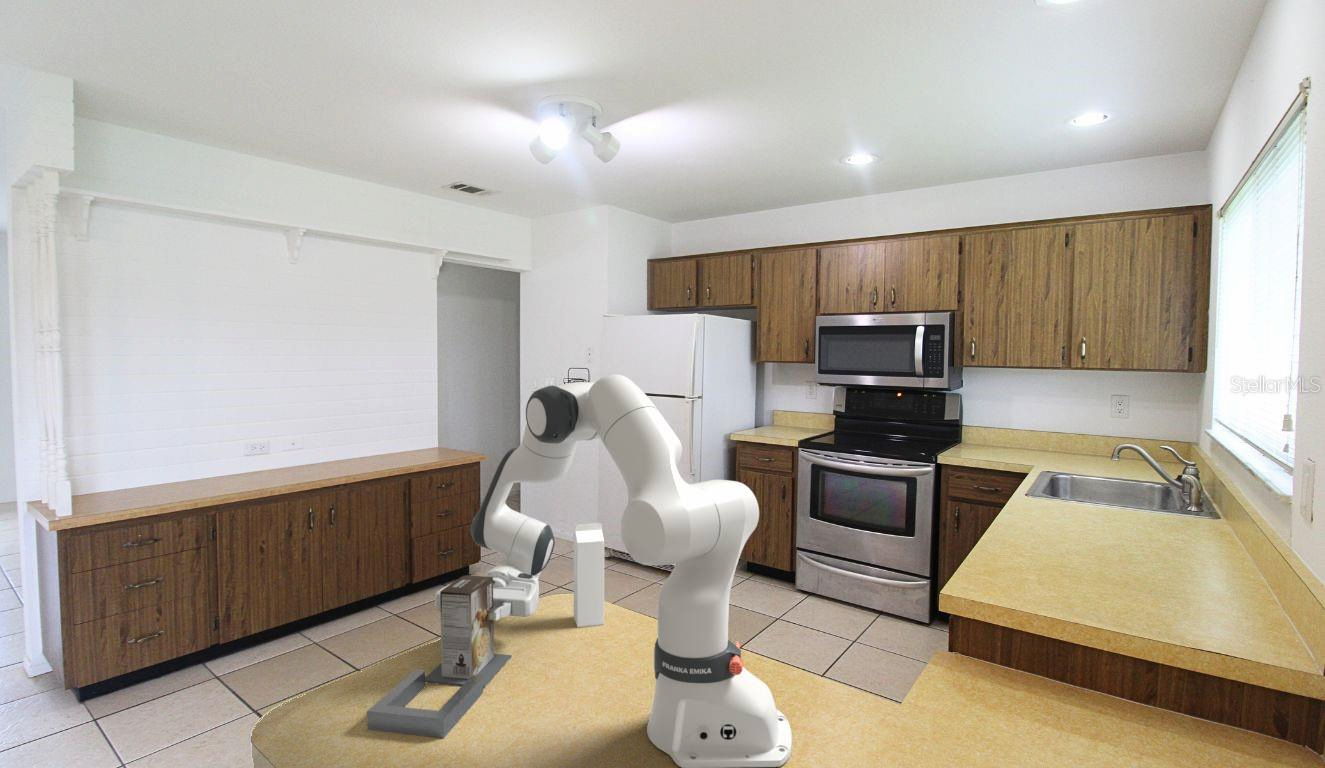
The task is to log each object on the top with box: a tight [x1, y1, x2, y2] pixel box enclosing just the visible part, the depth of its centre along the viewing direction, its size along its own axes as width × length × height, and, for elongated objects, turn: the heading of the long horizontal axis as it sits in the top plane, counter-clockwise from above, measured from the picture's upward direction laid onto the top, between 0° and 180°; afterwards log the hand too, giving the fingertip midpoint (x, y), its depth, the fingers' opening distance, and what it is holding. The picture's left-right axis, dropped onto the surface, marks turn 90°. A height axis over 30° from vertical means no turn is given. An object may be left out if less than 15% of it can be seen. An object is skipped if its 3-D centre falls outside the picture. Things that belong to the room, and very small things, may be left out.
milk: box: [573, 522, 605, 628], centre depth 140 cm, size 6×6×22 cm
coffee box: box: [440, 575, 495, 679], centre depth 118 cm, size 9×6×16 cm
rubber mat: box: [425, 653, 513, 689], centre depth 118 cm, size 12×12×1 cm
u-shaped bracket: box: [366, 669, 484, 739], centre depth 104 cm, size 13×14×3 cm
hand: (468, 614), depth 118 cm, fingers open, 8 cm apart
